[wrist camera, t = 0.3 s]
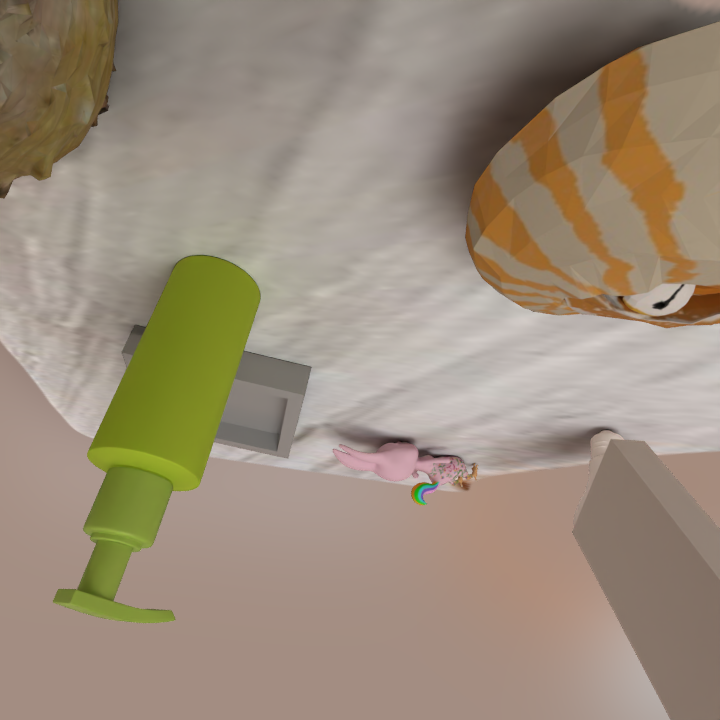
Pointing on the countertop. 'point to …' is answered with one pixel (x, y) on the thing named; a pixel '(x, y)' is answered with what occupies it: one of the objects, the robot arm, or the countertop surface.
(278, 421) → the holder tray
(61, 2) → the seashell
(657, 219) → the nautilus
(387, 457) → the rabbit figure
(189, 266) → the soap dispenser
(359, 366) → the countertop surface
